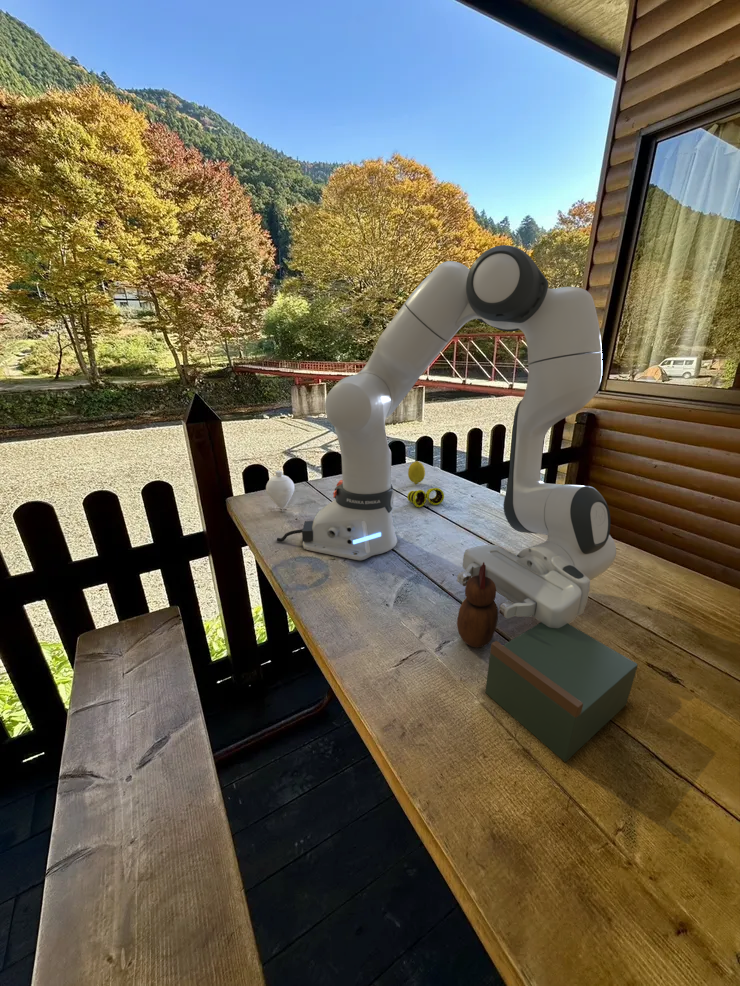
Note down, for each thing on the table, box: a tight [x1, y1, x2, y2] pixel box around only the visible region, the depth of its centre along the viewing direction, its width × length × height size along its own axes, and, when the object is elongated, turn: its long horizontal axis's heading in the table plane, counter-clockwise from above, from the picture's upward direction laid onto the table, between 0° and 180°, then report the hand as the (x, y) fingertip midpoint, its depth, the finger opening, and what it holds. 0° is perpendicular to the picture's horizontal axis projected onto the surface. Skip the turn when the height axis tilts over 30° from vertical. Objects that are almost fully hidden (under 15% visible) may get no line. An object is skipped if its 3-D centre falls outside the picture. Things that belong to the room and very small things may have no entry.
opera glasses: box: [407, 487, 445, 508], centre depth 119 cm, size 10×5×5 cm, turn 108°
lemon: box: [407, 460, 426, 485], centre depth 134 cm, size 6×6×8 cm
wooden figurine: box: [456, 562, 499, 648], centre depth 64 cm, size 7×6×15 cm
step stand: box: [485, 622, 639, 763], centre depth 54 cm, size 12×14×9 cm
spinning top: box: [265, 469, 295, 512], centre depth 113 cm, size 8×8×12 cm
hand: (480, 595), depth 64 cm, fingers open, 8 cm apart
